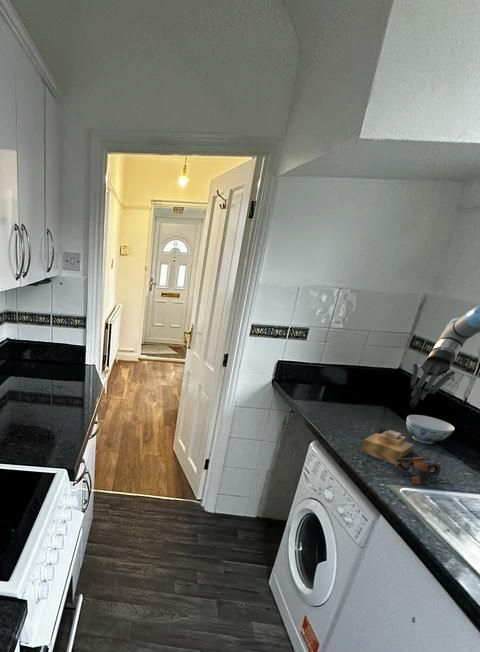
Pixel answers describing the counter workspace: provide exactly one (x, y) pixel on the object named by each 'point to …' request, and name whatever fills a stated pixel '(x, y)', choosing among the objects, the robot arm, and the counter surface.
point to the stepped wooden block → (386, 447)
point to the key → (393, 434)
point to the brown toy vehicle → (419, 468)
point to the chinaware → (428, 428)
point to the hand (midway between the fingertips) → (411, 405)
